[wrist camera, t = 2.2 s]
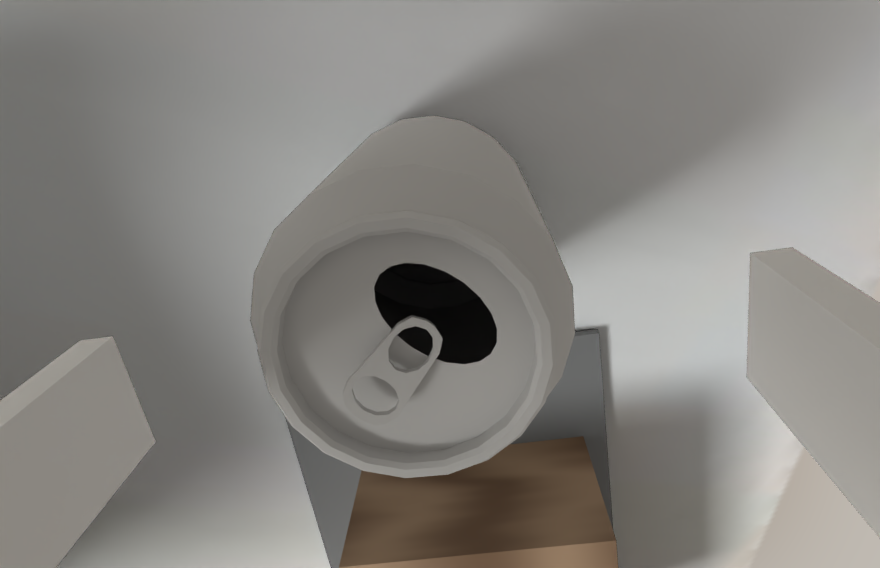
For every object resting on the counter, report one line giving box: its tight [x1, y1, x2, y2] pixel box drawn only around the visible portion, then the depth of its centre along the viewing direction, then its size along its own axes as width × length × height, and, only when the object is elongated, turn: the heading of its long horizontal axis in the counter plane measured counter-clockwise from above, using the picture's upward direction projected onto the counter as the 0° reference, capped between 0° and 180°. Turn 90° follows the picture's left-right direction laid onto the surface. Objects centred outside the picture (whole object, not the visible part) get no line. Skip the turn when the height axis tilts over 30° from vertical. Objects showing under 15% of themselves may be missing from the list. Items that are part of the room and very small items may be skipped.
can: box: [250, 115, 575, 478], centre depth 18 cm, size 8×8×12 cm
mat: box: [285, 329, 613, 568], centre depth 29 cm, size 14×20×1 cm
